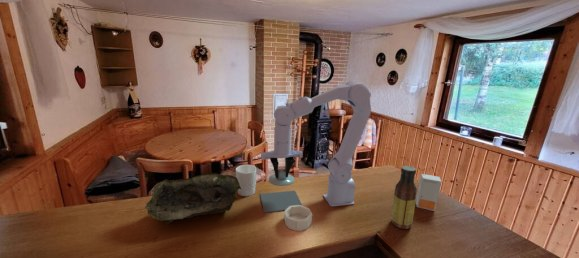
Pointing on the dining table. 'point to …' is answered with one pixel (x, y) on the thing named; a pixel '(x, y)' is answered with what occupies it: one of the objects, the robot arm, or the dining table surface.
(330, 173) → the robot arm
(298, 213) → the bowl
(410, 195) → the sauce bottle
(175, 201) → the hollow geode rock
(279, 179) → the lid
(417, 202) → the skincare box
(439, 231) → the dining table surface
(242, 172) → the white cup
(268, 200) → the mat
